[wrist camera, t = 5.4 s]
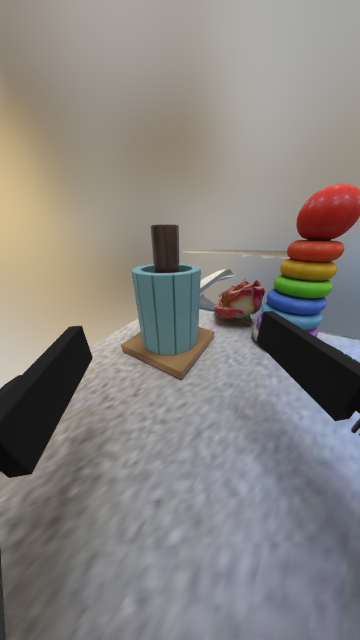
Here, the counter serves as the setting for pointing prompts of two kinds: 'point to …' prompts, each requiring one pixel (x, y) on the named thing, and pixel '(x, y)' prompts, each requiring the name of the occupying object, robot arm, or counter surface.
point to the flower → (240, 301)
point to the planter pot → (168, 308)
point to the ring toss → (178, 365)
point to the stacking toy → (313, 257)
